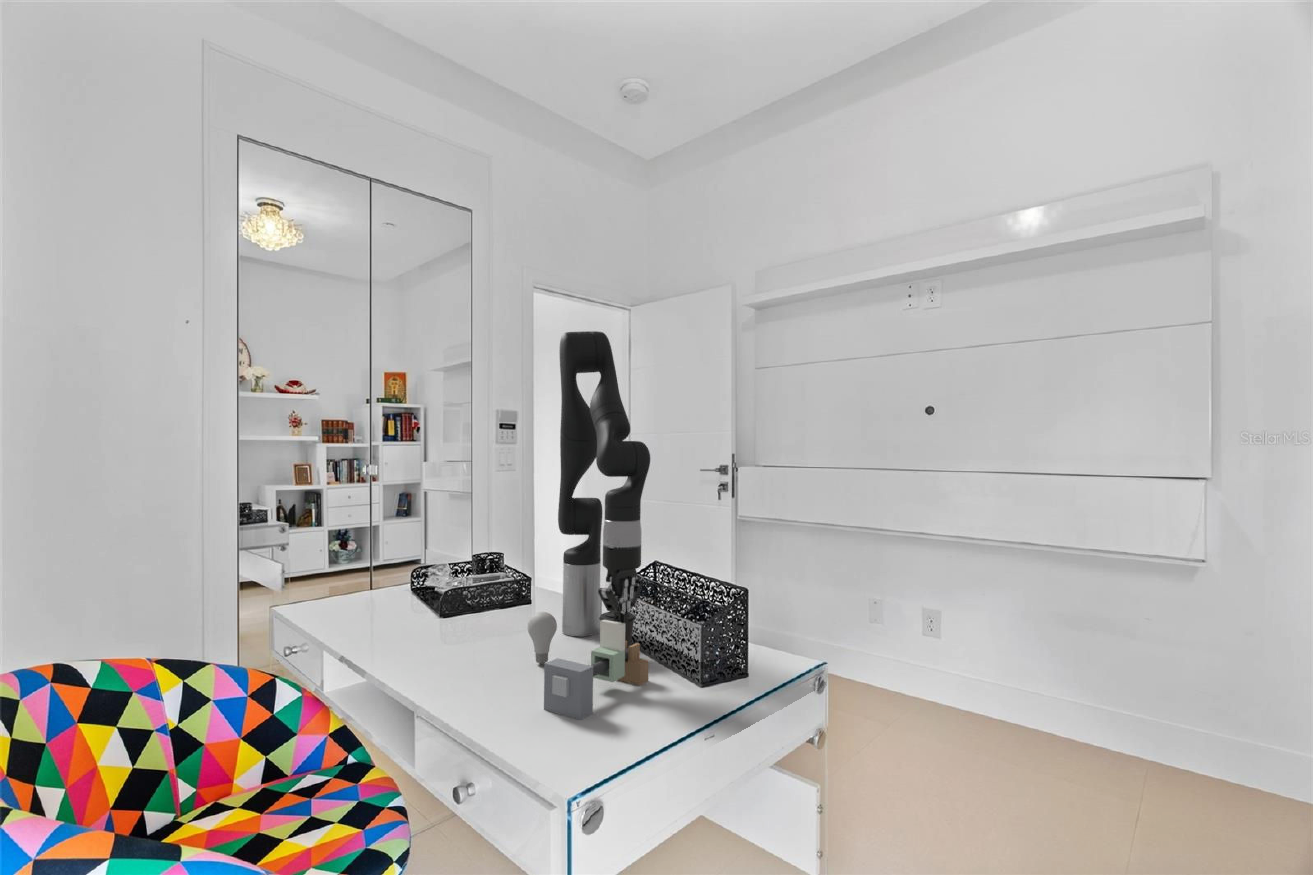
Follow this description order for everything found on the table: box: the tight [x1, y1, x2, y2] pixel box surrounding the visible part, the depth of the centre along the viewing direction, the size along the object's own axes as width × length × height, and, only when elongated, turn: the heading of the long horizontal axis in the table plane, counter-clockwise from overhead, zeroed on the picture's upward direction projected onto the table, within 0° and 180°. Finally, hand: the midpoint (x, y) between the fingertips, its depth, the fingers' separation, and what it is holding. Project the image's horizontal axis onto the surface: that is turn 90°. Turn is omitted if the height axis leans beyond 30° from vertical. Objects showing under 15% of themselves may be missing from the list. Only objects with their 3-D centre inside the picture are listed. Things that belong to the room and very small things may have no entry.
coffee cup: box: [599, 611, 637, 648], centre depth 144 cm, size 8×8×10 cm
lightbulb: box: [527, 611, 558, 665], centre depth 140 cm, size 6×6×11 cm
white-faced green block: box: [590, 620, 625, 683], centre depth 126 cm, size 4×5×10 cm
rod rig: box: [543, 641, 650, 720], centre depth 123 cm, size 23×8×8 cm, turn 149°
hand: (620, 631), depth 129 cm, fingers closed
